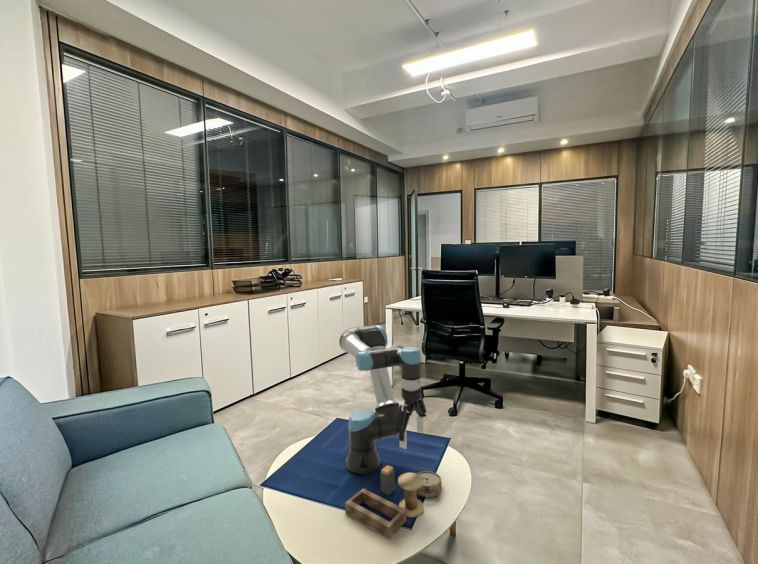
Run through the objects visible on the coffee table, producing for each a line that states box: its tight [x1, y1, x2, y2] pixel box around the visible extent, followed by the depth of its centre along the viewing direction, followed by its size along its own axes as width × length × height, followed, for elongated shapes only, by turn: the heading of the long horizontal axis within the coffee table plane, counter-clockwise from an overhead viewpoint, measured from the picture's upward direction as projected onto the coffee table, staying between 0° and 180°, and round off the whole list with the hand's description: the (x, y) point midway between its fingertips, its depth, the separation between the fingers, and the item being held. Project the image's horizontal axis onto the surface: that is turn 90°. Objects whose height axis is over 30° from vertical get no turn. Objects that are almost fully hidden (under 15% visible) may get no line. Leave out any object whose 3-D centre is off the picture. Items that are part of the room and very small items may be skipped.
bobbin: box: [397, 472, 424, 518], centre depth 132 cm, size 9×9×11 cm
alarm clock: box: [415, 470, 442, 498], centre depth 143 cm, size 11×5×15 cm
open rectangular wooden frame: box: [344, 488, 407, 539], centre depth 129 cm, size 20×10×4 cm, turn 51°
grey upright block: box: [379, 464, 396, 496], centre depth 142 cm, size 4×4×9 cm
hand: (412, 439), depth 142 cm, fingers open, 13 cm apart
